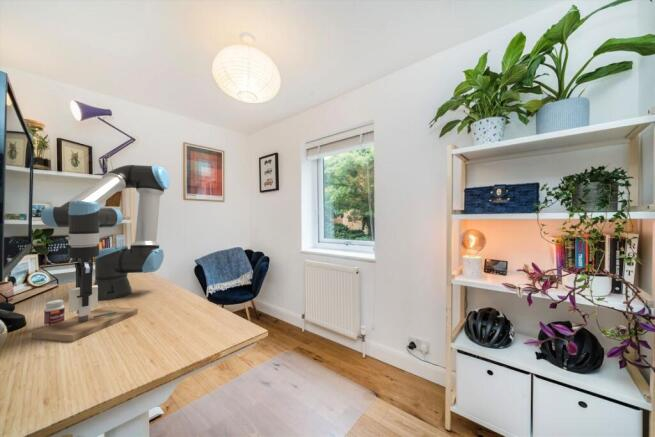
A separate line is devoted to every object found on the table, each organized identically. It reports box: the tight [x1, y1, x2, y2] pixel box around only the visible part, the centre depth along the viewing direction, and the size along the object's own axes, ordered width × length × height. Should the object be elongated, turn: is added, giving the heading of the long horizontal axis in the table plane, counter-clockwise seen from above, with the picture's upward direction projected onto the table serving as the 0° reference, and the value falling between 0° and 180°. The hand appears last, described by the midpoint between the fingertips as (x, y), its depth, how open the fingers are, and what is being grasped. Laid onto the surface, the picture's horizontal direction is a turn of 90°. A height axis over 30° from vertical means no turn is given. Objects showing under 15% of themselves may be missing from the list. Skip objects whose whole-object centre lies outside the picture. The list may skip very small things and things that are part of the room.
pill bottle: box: [43, 299, 66, 328], centre depth 85 cm, size 5×5×8 cm
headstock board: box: [30, 305, 139, 343], centre depth 86 cm, size 22×15×2 cm
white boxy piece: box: [68, 284, 116, 322], centre depth 86 cm, size 3×12×11 cm, turn 136°
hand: (83, 313), depth 84 cm, fingers closed on white boxy piece, 3 cm apart
